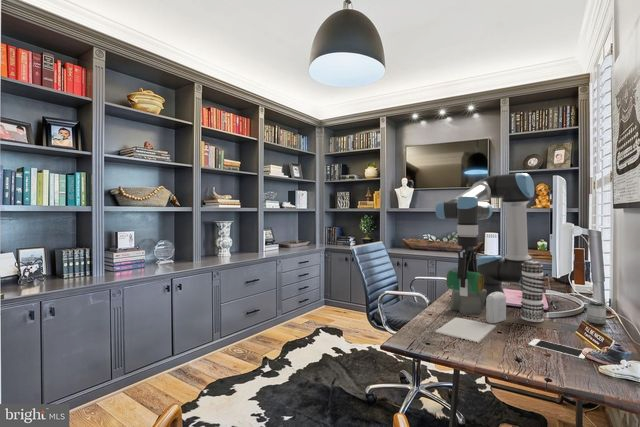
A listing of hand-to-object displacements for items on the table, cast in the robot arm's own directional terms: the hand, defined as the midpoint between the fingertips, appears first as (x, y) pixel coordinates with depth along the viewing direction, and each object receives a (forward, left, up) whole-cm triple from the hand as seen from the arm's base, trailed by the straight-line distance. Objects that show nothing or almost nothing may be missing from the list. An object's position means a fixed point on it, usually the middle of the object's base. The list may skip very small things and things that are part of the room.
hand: (467, 293), depth 136 cm
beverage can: (0, -7, +5) cm, 9 cm away
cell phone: (-3, +29, -15) cm, 33 cm away
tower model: (-33, +16, -15) cm, 40 cm away
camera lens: (-46, +37, -15) cm, 61 cm away
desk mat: (-1, -1, -15) cm, 15 cm away
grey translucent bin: (-27, -9, -15) cm, 32 cm away
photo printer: (-20, +5, -15) cm, 26 cm away
